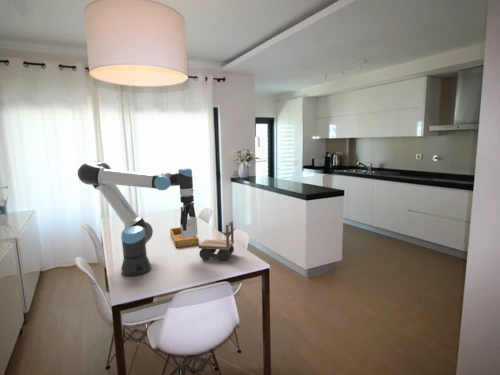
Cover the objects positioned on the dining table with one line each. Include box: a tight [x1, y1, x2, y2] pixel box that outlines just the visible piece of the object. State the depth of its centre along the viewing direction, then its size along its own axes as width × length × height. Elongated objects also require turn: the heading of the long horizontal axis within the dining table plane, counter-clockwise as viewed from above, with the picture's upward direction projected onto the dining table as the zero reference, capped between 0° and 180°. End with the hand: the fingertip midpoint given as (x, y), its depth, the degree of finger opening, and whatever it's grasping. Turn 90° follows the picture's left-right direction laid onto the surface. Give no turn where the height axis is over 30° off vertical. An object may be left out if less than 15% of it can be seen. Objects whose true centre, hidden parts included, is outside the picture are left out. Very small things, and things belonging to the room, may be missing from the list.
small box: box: [179, 216, 199, 238], centre depth 181 cm, size 8×6×10 cm
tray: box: [169, 226, 199, 249], centre depth 220 cm, size 31×15×6 cm, turn 21°
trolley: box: [198, 220, 235, 262], centre depth 183 cm, size 12×18×21 cm, turn 78°
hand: (189, 233), depth 181 cm, fingers closed on small box, 9 cm apart
